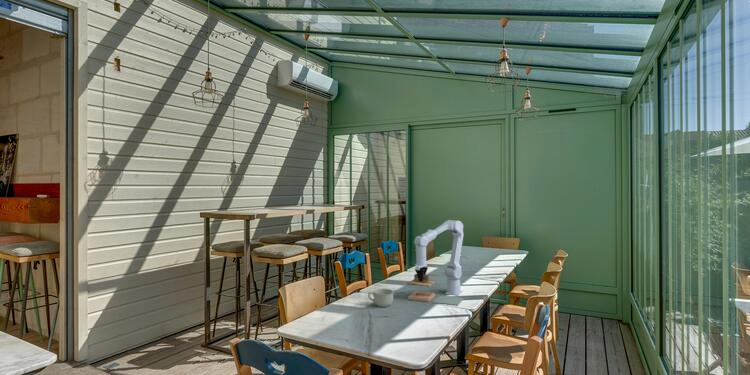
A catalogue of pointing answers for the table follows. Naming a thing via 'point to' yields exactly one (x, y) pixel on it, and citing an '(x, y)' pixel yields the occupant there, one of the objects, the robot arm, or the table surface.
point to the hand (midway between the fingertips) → (421, 280)
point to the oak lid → (421, 283)
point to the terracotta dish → (421, 296)
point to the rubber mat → (448, 300)
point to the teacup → (382, 297)
